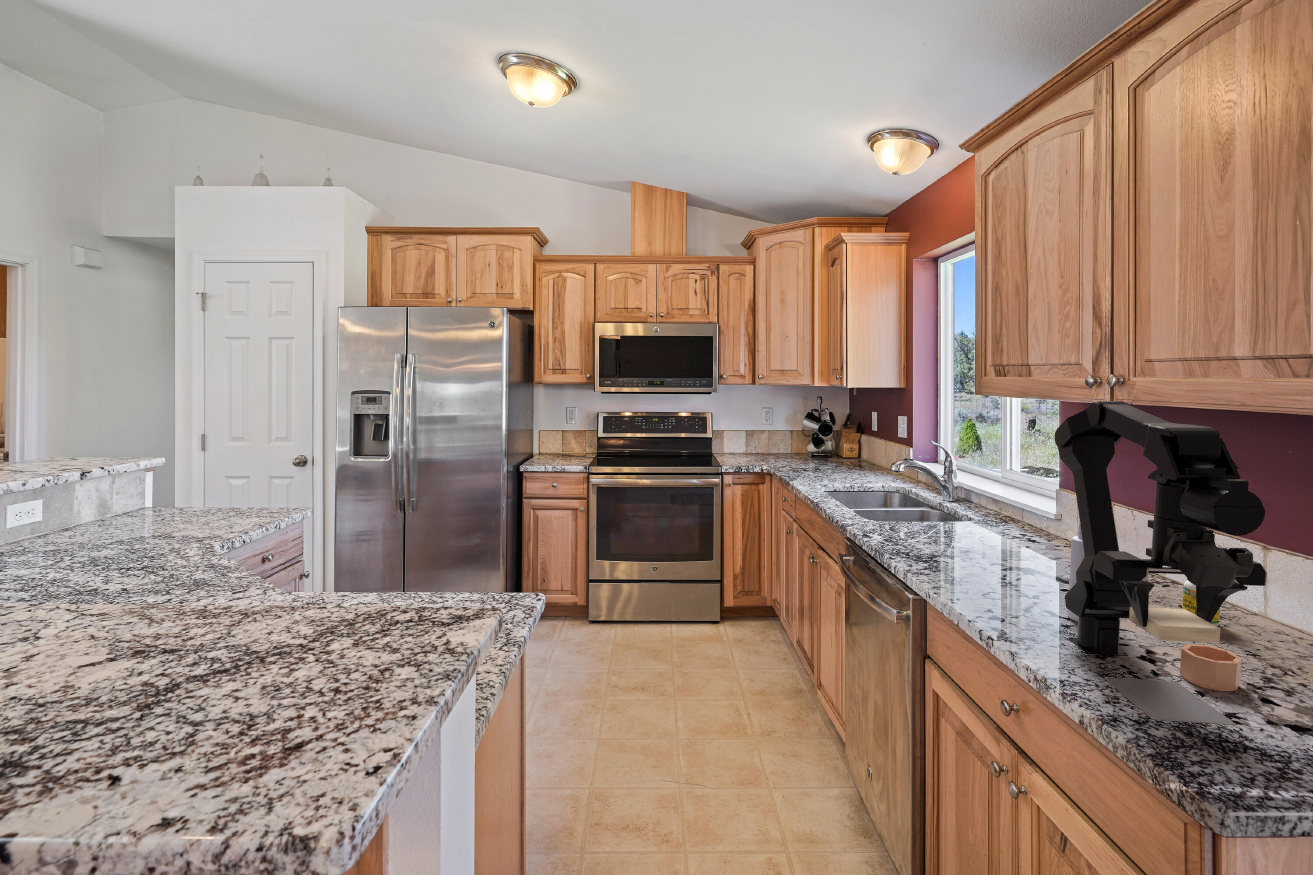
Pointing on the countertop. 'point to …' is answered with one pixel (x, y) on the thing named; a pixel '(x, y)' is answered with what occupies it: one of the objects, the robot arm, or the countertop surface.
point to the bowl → (1210, 667)
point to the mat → (1168, 701)
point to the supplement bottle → (1194, 601)
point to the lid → (1178, 626)
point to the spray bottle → (1075, 563)
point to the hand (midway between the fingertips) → (1172, 627)
